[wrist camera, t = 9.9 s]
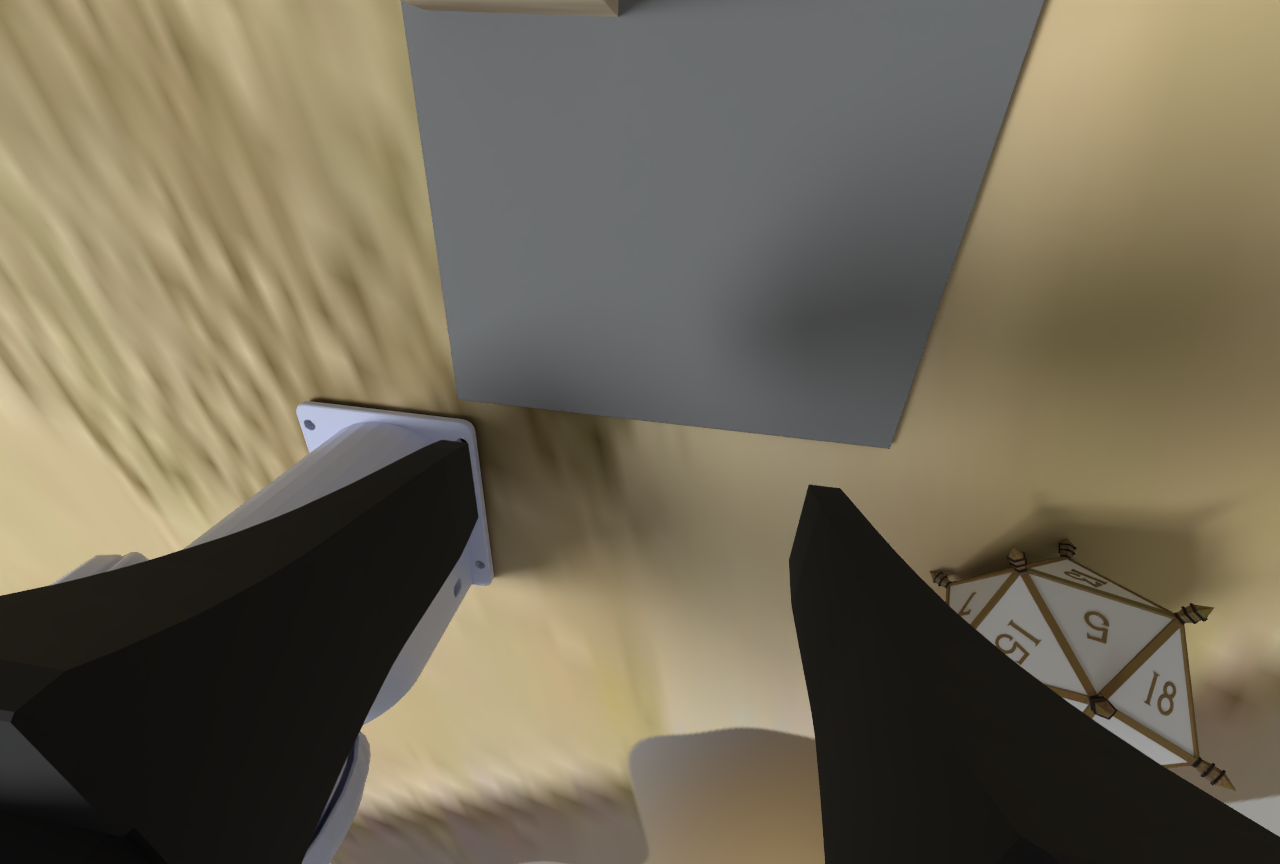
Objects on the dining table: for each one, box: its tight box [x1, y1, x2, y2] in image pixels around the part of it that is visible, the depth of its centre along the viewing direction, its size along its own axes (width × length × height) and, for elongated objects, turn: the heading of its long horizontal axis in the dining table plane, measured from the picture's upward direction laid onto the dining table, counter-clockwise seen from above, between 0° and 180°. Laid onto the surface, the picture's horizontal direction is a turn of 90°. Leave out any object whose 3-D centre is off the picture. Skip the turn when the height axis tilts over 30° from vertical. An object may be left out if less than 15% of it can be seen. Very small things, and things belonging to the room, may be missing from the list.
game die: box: [930, 538, 1236, 791], centre depth 19 cm, size 9×8×10 cm
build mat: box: [401, 0, 1044, 449], centre depth 15 cm, size 22×17×1 cm
